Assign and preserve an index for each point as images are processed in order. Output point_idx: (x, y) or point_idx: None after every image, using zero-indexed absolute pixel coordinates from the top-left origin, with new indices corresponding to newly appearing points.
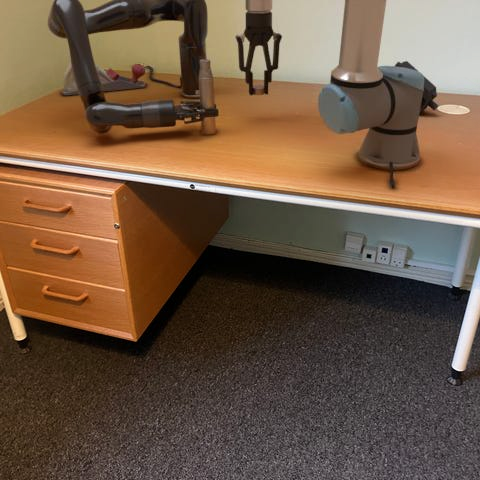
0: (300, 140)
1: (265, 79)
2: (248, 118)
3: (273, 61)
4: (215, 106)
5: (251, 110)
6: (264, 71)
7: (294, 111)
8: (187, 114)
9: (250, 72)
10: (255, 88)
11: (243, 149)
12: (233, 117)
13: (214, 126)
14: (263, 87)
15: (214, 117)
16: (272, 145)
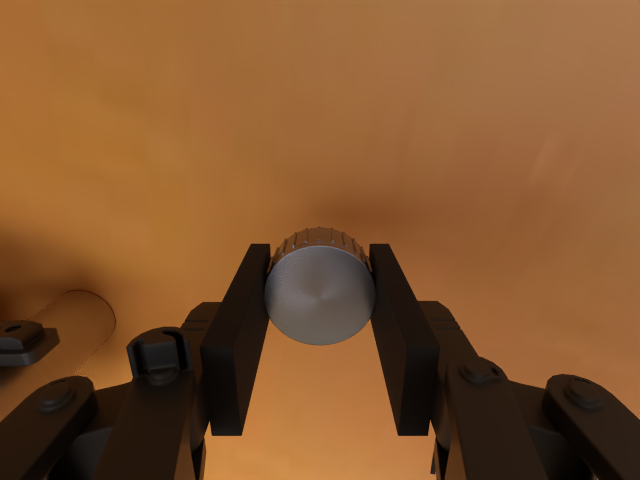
0: (423, 444)
1: (384, 360)
2: (274, 180)
3: (605, 475)
4: (41, 355)
5: (312, 41)
6: (403, 359)
7: (547, 120)
8: None
9: (217, 394)
10: (287, 335)
11: (219, 472)
12: (197, 147)
13: (95, 350)
14: (356, 322)
15: (70, 375)
16: (318, 461)
